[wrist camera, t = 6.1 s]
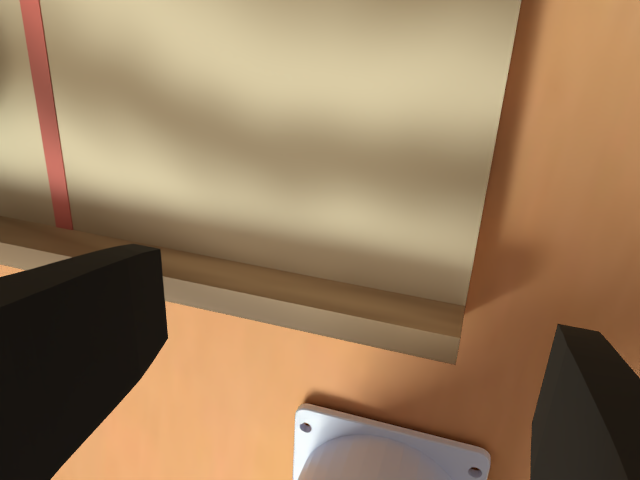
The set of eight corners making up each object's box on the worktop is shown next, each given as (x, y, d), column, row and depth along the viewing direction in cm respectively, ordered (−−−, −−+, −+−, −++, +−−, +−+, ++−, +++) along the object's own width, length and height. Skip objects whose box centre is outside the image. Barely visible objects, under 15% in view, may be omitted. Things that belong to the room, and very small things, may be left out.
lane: (462, 316, 20) (455, 365, 18) (-127, 198, 27) (-195, 221, 25) (540, -105, 15) (545, -125, 12) (-223, -117, 22) (-323, -131, 19)
